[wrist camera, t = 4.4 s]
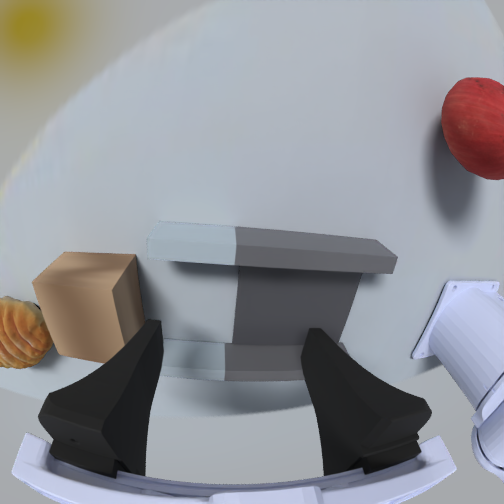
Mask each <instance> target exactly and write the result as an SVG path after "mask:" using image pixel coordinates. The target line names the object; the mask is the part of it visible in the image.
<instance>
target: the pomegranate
mask: <svg viewBox="0 0 504 504" xmlns="http://www.w3.org/2000/svg"><path fill="white" fill-rule="evenodd" d="M441 124H442V128H443V133H444V137H445V140H446V142H447V144H448V147H449V149H450V151H451V153H452V154H453V155H454V157H455V158H456V159H457V160H458V161H459V163H460V164H461V165H462V166H463V167H464V168H465V169H466V170H467V171H469V172H471V173H474V174H476V175H478V176H480V177H483V178H485V179H491V180H500V179H504V86H503V85H502V84H500V83H499V82H497V81H494V80H492V79H489V78H465V79H462V80H460V81H458V82H457V83H456V84H455V85H454V86H453V88H452V89H451V90H450V91H449V92H448V94H447V95H446V97H445V100H444V104H443V107H442V118H441Z"/></svg>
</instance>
